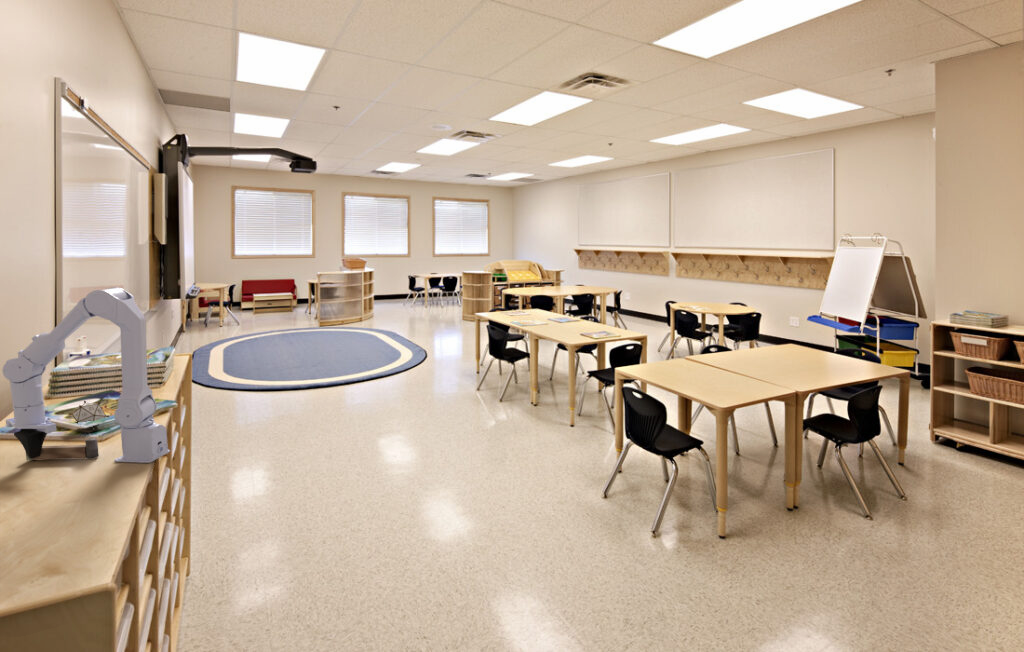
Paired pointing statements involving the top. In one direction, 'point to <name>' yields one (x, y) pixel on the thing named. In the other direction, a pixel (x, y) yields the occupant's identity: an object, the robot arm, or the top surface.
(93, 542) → the top surface
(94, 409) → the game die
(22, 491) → the top surface
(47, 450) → the gate
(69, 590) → the top surface
